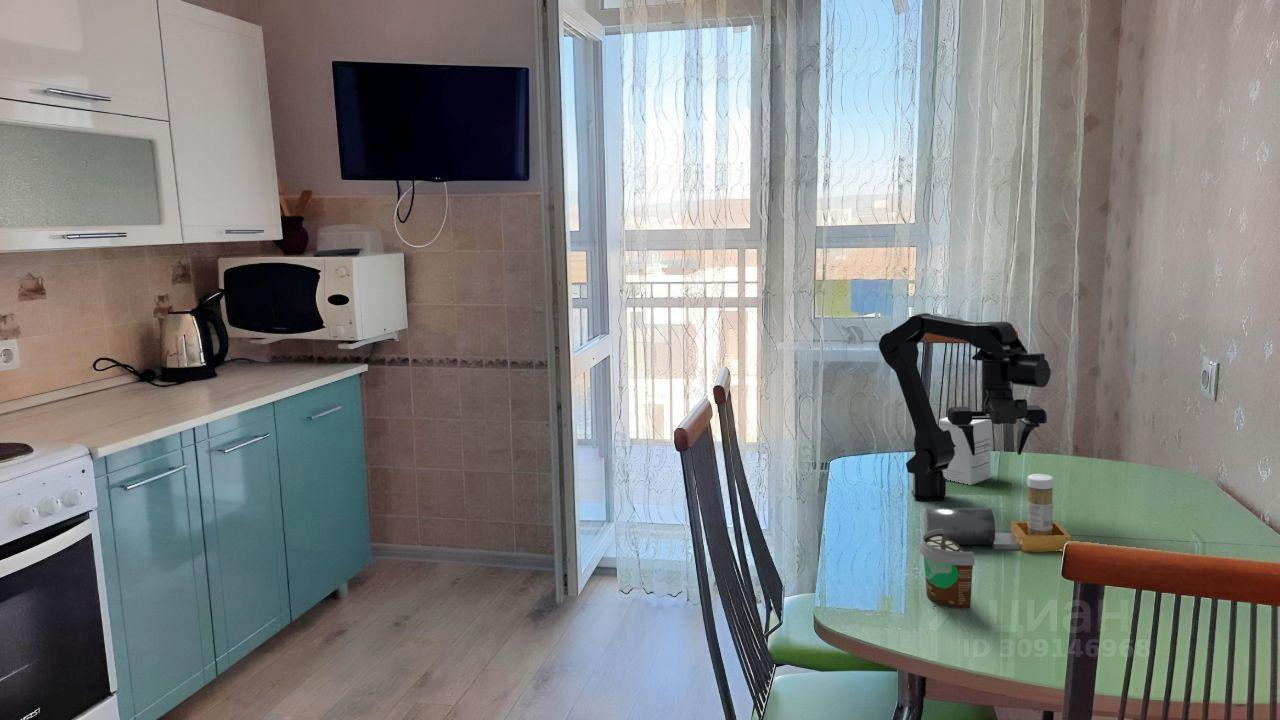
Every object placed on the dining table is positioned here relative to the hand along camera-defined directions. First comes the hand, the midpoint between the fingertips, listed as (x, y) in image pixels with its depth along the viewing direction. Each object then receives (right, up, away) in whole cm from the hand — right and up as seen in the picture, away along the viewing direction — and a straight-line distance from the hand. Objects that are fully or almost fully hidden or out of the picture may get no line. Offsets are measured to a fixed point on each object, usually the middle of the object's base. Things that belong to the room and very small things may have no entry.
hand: (995, 454), depth 184 cm
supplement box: (+4, -9, +28) cm, 30 cm away
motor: (-6, -16, -15) cm, 23 cm away
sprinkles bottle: (+2, -16, -16) cm, 23 cm away
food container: (-25, -20, -38) cm, 50 cm away
